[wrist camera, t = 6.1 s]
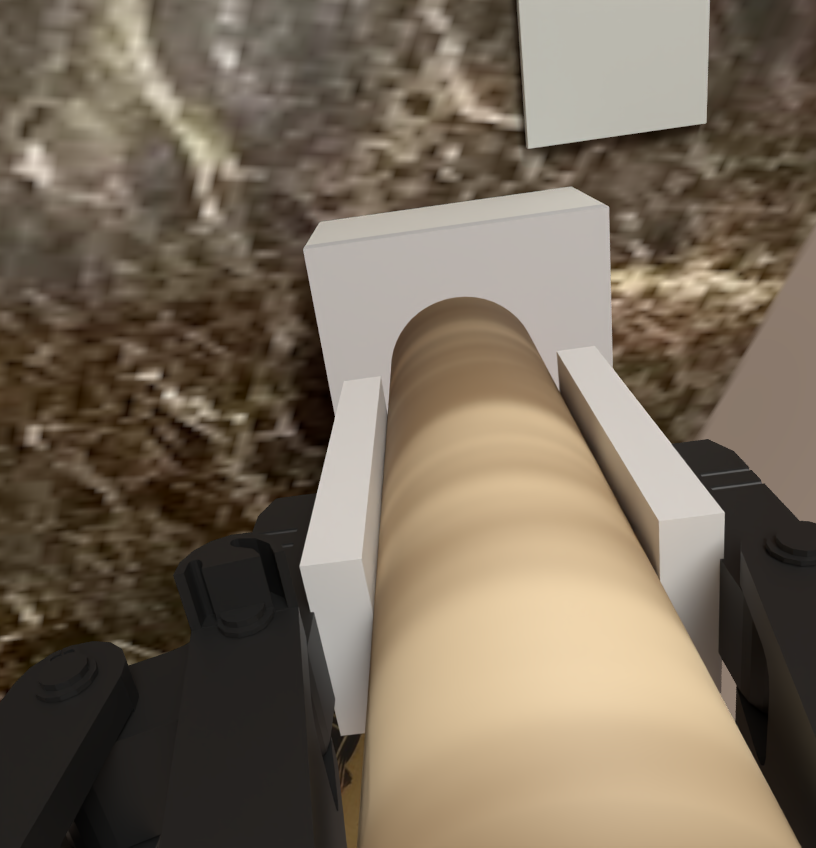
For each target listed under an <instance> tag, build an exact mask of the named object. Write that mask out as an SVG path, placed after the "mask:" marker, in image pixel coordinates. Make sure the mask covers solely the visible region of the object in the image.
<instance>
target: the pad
mask: <svg viewBox="0 0 816 848" xmlns="http://www.w3.org/2000/svg"><path fill="white" fill-rule="evenodd" d="M709 9H710V0H517V16H518V31H519V46H520V61H521V77H522V92H523V107H524V122H525V138H526V148H528V149H530V148H537V147H544V146H551V145H558V144H565V143H572V142H579V141H586V140H593V139H600V138H607V137H614V136H621V135H628V134H635V133H642V132H649V131H656V130H663V129H669V128H676V127H683V126H690V125H697V124H704V123H706V118H707V82H708V45H709Z"/></svg>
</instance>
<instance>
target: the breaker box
mask: <svg viewBox="0 0 816 848" xmlns="http://www.w3.org/2000/svg"><path fill="white" fill-rule="evenodd" d="M303 251H304V256H305V262H306V267H307V272H308V277H309V283H310V288H311V293H312V298H313V304H314V309H315V314H316V319H317V325H318V330H319V335H320V340H321V346H322V351H323V356H324V361H325V367H326V372H327V377H328V382H329V387H330V393H331V398H332V403H333V408H334V414H335V416H336V412H337V407H338V403H339V399H340V395H341V391H342V387H343V382H344V381H349V380H356V379H363V378H370V377H377V376H381V380H382V386H383V391H384V397H385V403H386V409H387V414H388V402H389V388H390V374H391V360H392V355H393V350H394V347H395V344H396V341H397V339H398V337H399V335H400V333H401V332H402V330H403V329H404V327H405V326H406V325H407V324H408V322H409V321H410V320H411V319H412V318H413V317H414V316H415V315H417V314H418V313H419V312H420V311H422V310H423V309H425V308H426V307H428V306H430V305H432V304H434V303H436V302H439V301H442V300H445V299H449V298H454V297H477V298H482V299H486V300H489V301H492V302H495V303H497V304H499V305H501V306H503V307H504V308H506V309H507V310H509V311H510V312H511V313H512V314H514V315H515V316H516V317H517V318H518V319H519V320H520V322H521V323H522V324H523V325H524V327H525V328H526V330H527V331H528V333H529V335H530V337H531V339H532V341H533V342H534V344H535V346H536V348H537V350H538V352H539V354H540V356H541V358H542V359H543V361H544V363H545V365H546V367H547V369H548V371H549V373H550V375H551V376H552V378H553V380H554V382H555V384H556V386H557V388H558V390H559V377H558V364H557V351H561V350H568V349H575V348H583V347H590V346H595V347H596V348H597V349H598V350H599V352H600V353H601V354H602V356H603V357H604V358H605V359H606V361H607V362H608V363H609V365H610V366H611V367H612V368H613V361H612V318H611V275H610V233H609V207H608V206H607V205H605V204H603V203H601V202H599V201H597V200H595V199H594V198H592V197H590V196H588V195H586V194H584V193H582V192H581V191H579V190H577V189H575V188H573V187H566V188H558V189H551V190H544V191H537V192H530V193H523V194H516V195H509V196H502V197H494V198H487V199H480V200H473V201H466V202H459V203H452V204H445V205H438V206H430V207H423V208H416V209H409V210H402V211H395V212H388V213H381V214H374V215H366V216H359V217H352V218H345V219H338V220H331V221H324V222H320V223H319V224H318V226H317V228H316V229H315V231H314V233H313V234H312V236H311V237H310V239H309V241H308V242H307V244H306V245H305V247H304V249H303Z"/></svg>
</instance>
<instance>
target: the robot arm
mask: <svg viewBox="0 0 816 848" xmlns="http://www.w3.org/2000/svg"><path fill="white" fill-rule="evenodd" d="M557 364H558V377H559V391H560V393H561V395H562V397H563V399H564V401H565V403H566V405H567V407H568V408H569V410H570V412H571V414H572V416H573V418H574V420H575V422H576V423H577V425H578V427H579V429H580V431H581V433H582V435H583V437H584V439H585V440H586V442H587V444H588V446H589V448H590V450H591V452H592V454H593V456H594V457H595V459H596V461H597V463H598V465H599V467H600V469H601V471H602V472H603V474H604V476H605V478H606V480H607V482H608V484H609V486H610V488H611V489H612V491H613V493H614V495H615V497H616V499H617V501H618V503H619V504H620V506H621V508H622V510H623V512H624V514H625V516H626V518H627V520H628V521H629V523H630V525H631V527H632V529H633V531H634V533H635V535H636V536H637V538H638V540H639V542H640V544H641V546H642V548H643V550H644V552H645V553H646V555H647V557H648V559H649V561H650V563H651V565H652V567H653V569H654V570H655V572H656V574H657V576H658V578H659V580H660V582H661V584H662V585H663V587H664V589H665V591H666V593H667V595H668V597H669V599H670V601H671V602H672V604H673V606H674V608H675V610H676V612H677V614H678V616H679V617H680V619H681V621H682V623H683V625H684V627H685V629H686V631H687V633H688V634H689V636H690V638H691V640H692V642H693V644H694V646H695V648H696V650H697V651H698V653H699V655H700V657H701V659H702V661H703V663H704V665H705V666H706V668H707V670H708V672H709V674H710V676H711V678H712V680H713V682H714V683H715V685H716V687H717V689H718V691H719V693H721V669H722V660H723V662H724V663H725V665H726V667H727V669H728V670H729V672H730V674H731V676H732V677H733V679H734V681H735V683H736V685H737V687H736V720H735V723H736V725H737V727H738V729H739V731H740V732H741V734H742V736H743V738H744V740H745V742H746V744H747V746H748V747H749V749H750V751H751V753H752V755H753V757H754V759H755V761H756V763H757V764H758V766H759V768H760V770H761V772H762V774H763V776H764V778H765V779H766V781H767V783H768V785H769V787H770V789H771V791H772V793H773V795H774V796H775V798H776V800H777V802H778V804H779V806H780V808H781V810H782V812H783V813H784V815H785V817H786V819H787V821H788V823H789V825H790V827H791V828H792V830H793V832H794V834H795V836H796V838H797V840H798V842H799V844H800V845H801V847H802V848H816V523H813V522H809V521H799V520H798V519H797V518H796V517H795V515H793V513H792V512H791V511H790V510H789V509H788V508H787V507H786V506H785V505H784V504H783V503H782V502H781V501H780V500H779V499H778V497H777V496H776V495H775V494H774V493H773V492H772V491H771V490H770V489H769V488H768V487H767V486H766V485H765V484H762V483H761V480H760V478H759V477H758V476H757V475H756V474H755V473H754V472H753V471H752V470H749V467H748V466H747V465H746V464H745V462H744V461H743V460H742V459H741V458H740V457H739V456H738V455H737V454H736V453H735V452H734V451H732V450H730V449H728V448H726V447H723V446H722V445H719V444H717V443H715V442H713V441H711V440H709V439H706V440H698V441H691V442H683V443H675V444H671V443H670V442H669V440H668V439H667V438H666V437H665V435H664V434H663V433H662V431H661V430H660V429H659V428H658V426H657V425H656V424H655V422H654V421H653V420H652V419H651V417H650V416H649V415H648V413H647V412H646V411H645V410H644V408H643V407H642V406H641V404H640V403H639V402H638V401H637V399H636V398H635V397H634V395H633V394H632V393H631V392H630V390H629V389H628V388H627V386H626V385H625V384H624V383H623V381H622V380H621V379H620V377H619V376H618V375H617V374H616V372H615V371H614V370H613V368H612V367H611V366H610V365H609V363H608V362H607V361H606V359H605V358H604V357H603V356H602V354H601V353H600V352H599V350H598V349H597V348H596V347H595V346H590V347H583V348H575V349H568V350H561V351H557ZM387 416H388V414H387V409H386V403H385V397H384V391H383V386H382V380H381V376H377V377H370V378H363V379H356V380H349V381H344V382H343V387H342V391H341V395H340V399H339V403H338V407H337V412H336V416H335V420H334V424H333V428H332V433H331V437H330V441H329V445H328V449H327V453H326V458H325V462H324V466H323V470H322V474H321V479H320V483H319V487H318V491H317V493H315V494H307V495H300V496H292V497H285V498H277V499H275V500H274V501H273V502H272V503H271V504H270V505H269V506H268V507H267V508H266V509H265V510H264V511H263V512H262V513H261V514H260V515H259V516H258V519H257V521H256V524H255V527H254V529H253V532H252V533H243V534H235V535H230V536H226V537H223V538H220V539H217V540H214V541H211V542H209V543H207V544H205V545H203V546H202V547H200V548H198V549H196V550H194V551H193V552H191V553H190V554H189V555H188V556H187V557H186V558H185V559H183V560H182V561H181V562H180V563H179V565H178V567H177V569H176V571H175V573H174V575H173V576H174V579H175V582H176V585H177V588H178V591H179V594H180V597H181V600H182V603H183V607H184V610H185V613H186V616H187V619H188V622H189V625H190V628H191V638H190V642H189V643H188V644H186V645H184V646H182V647H180V648H177V649H175V650H173V651H170V652H168V653H165V654H162V655H159V656H156V657H153V658H150V659H147V660H144V661H141V662H138V663H135V664H132V665H129V666H128V664H127V661H126V658H125V656H124V653H123V650H122V649H121V648H119V647H118V646H116V645H114V644H112V643H110V642H96V641H92V642H87V643H82V644H78V645H73V646H70V647H67V648H64V649H63V650H59V651H57V652H55V653H52V654H50V655H49V656H48V657H46V658H45V659H43V660H41V661H40V662H38V663H37V664H35V665H34V666H32V667H31V668H30V669H29V670H28V671H27V672H26V673H25V674H24V675H23V676H22V677H21V678H20V679H19V680H18V681H17V682H16V683H15V684H14V685H13V686H12V688H11V689H10V690H9V692H8V693H7V694H6V695H5V697H4V698H3V699H2V701H1V702H0V848H347V841H346V832H345V823H344V814H343V805H342V796H341V788H340V779H339V770H338V762H337V758H336V754H335V750H334V746H333V742H332V738H331V730H332V722H333V714H334V709H335V714H336V718H337V722H338V726H339V730H340V734H341V736H344V735H353V734H362V733H365V725H366V711H367V697H368V683H369V669H370V655H371V641H372V627H373V613H374V599H375V585H376V571H377V557H378V543H379V529H380V515H381V500H382V486H383V472H384V458H385V444H386V430H387Z"/></svg>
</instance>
